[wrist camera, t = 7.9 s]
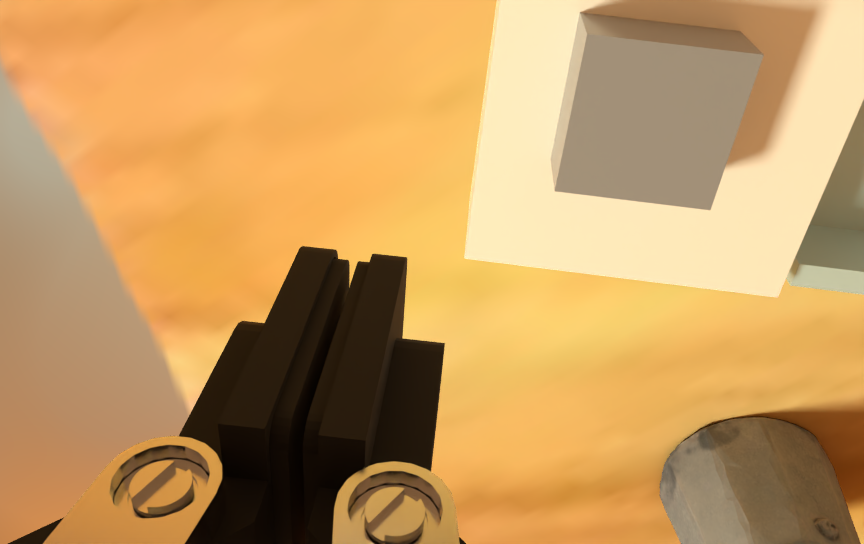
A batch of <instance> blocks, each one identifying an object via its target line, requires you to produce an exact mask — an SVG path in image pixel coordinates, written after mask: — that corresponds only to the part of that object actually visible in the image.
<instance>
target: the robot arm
mask: <svg viewBox="0 0 864 544" xmlns="http://www.w3.org/2000/svg"><path fill="white" fill-rule="evenodd" d="M406 274H407V257H398V256H389V255H380V254H372V257H371V260H370V262H360V261H359V262H358V263H357V266H356V269H355V272H354V275H353V278H352V281H351V285H350V288H349V261H348V260H342V259H338V254H337V251H336V250H333V249H323V248H314V247H305V246H302V247H301V248H300V249H299V251H298V253H297V255H296V257H295V260H294V262H293V264H292V266H291V268H290V270H289V272H288V275H287V277H286V279H285V281H284V283H283V285H282V287H281V289H280V292H279V294H278V296H277V298H276V300H275V302H274V304H273V307H272V309H271V311H270V313H269V315H268V317H267V319H266V322H265V323H257V322H248V321H242V322H240V323H238V325H237V326H236V328H235V329H234V331H233V333H232V335H231V337H230V339H229V341H228V343H227V345H226V346H225V348H224V350H223V352H222V354H221V356H220V358H219V360H218V362H217V364H216V366H215V368H214V369H213V371H212V373H211V375H210V377H209V379H208V381H207V383H206V385H205V387H204V389H203V391H202V393H201V394H200V396H199V398H198V400H197V402H196V404H195V406H194V408H193V410H192V412H191V414H190V416H189V417H188V420H187V421H186V423H185V425H184V427H183V429H182V431H181V433H180V435H179V436H168V437H159V438H153V439H150V440H147V441H144V442H141V443H138V444H136V445H134V446H132V447H130V448H129V449H127V450H125V451H123V452H122V453H120V454H119V455H118V456H117V457H116V458H115V459H114V460H112V462H110V463H109V464H108V465H107V466H106V467H105V468H104V470H103V471H102V472H101V473H100V475H99V476H98V477H97V478H96V479H95V481H94V482H93V483H92V484H91V486H90V487H89V488H88V489H87V490H86V492H85V493H84V494H83V495H82V496H81V498H80V499H79V500H78V501H77V503H76V504H75V505H74V506H73V508H72V509H71V510H70V511H69V512H68V513H67V515H66V516H65V517H64V518H62V519H60V520H57V521H55V522H54V523H51V524H49V525H47V526H45V527H42V528H40V529H38V530H36V531H34V532H32V533H30V534H28V535H25V536H23V537H21V538H19V539H17V540H15V541H13V542H11V543H8V544H466V543H465V542H464V541H463V540H462V539H461V538H460V537H459V533H458V524H457V516H456V507H455V504H454V500H453V497H452V494H451V492H450V490H449V489H448V488H447V486H446V485H445V484H444V482H443V481H442V480H441V479H440V478H439V477H437V476H436V475H435V474H433V473H432V472H431V466H432V457H433V448H434V439H435V430H436V421H437V412H438V403H439V393H440V384H441V374H442V365H443V355H444V346H445V343H437V342H428V341H419V340H410V339H402V335H403V320H404V304H405V289H406Z"/></svg>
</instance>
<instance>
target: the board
mask: <svg viewBox="0 0 864 544" xmlns="http://www.w3.org/2000/svg"><path fill="white" fill-rule="evenodd" d="M580 12H582V13H590V14H599V15H607V16H616V17H625V18H633V19H642V20H650V21H659V22H667V23H676V24H684V25H693V26H701V27H710V28H718V29H727V30H735V31H741V32H742V33H743V34H744V35H745V36H746V37H747V38H748V39H749V40H750V41H751V42H752V43H753V44H754V45H755V46H756V47H757V48H758V49H759V50H760V51H761V52H762V53H763V54H764V56H763V59H762V62H761V65H760V68H759V71H758V73H757V76H756V79H755V82H754V85H753V88H752V91H751V94H750V97H749V100H748V103H747V105H746V108H745V111H744V114H743V117H742V120H741V123H740V126H739V129H738V132H737V135H736V137H735V140H734V143H733V146H732V149H731V152H730V155H729V158H728V161H727V164H726V167H725V169H724V172H723V175H722V178H721V181H720V184H719V187H718V190H717V193H716V196H715V199H714V201H713V204H712V207H711V210H703V209H695V208H687V207H679V206H671V205H662V204H654V203H646V202H638V201H630V200H621V199H613V198H605V197H597V196H589V195H581V194H572V193H564V192H556V191H554V183H553V174H552V166H551V155H552V150H553V144H554V139H555V134H556V129H557V124H558V119H559V114H560V109H561V104H562V99H563V94H564V89H565V84H566V79H567V74H568V69H569V64H570V59H571V54H572V49H573V44H574V39H575V34H576V29H577V24H578V19H579V13H580ZM863 100H864V0H497V4H496V11H495V18H494V26H493V33H492V40H491V48H490V55H489V62H488V70H487V77H486V84H485V91H484V99H483V106H482V113H481V121H480V128H479V135H478V143H477V150H476V157H475V165H474V172H473V179H472V187H471V194H470V202H469V214H468V225H467V236H466V247H465V258H464V259H472V260H480V261H488V262H496V263H504V264H512V265H520V266H528V267H536V268H544V269H552V270H560V271H568V272H577V273H585V274H593V275H601V276H609V277H617V278H625V279H633V280H641V281H649V282H657V283H665V284H673V285H681V286H689V287H697V288H705V289H713V290H721V291H729V292H737V293H745V294H753V295H761V296H769V297H778V296H779V293H780V291H781V289H782V286H783V284H784V282H785V280H786V277H787V275H788V273H789V270H790V268H791V266H792V263H793V261H794V259H795V256H796V254H797V252H798V250H799V247H800V245H801V243H802V240H803V238H804V236H805V233H806V231H807V229H808V226H809V224H810V222H811V220H812V217H813V215H814V213H815V210H816V208H817V206H818V203H819V201H820V199H821V197H822V194H823V192H824V190H825V187H826V185H827V183H828V180H829V178H830V176H831V173H832V171H833V169H834V167H835V164H836V162H837V160H838V157H839V155H840V153H841V150H842V148H843V146H844V143H845V141H846V139H847V137H848V134H849V132H850V130H851V127H852V125H853V123H854V120H855V118H856V116H857V113H858V111H859V109H860V107H861V104H862V102H863Z"/></svg>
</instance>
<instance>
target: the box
mask: <svg viewBox="0 0 864 544" xmlns="http://www.w3.org/2000/svg"><path fill="white" fill-rule="evenodd" d="M786 279H787V281H788V282H789V284H790V285H791V286H799V287H807V288H815V289H823V290H831V291H839V292H847V293H855V294H863V295H864V100H863V102H862V104H861V107H860V109H859V111H858V113H857V116H856V118H855V120H854V123H853V125H852V127H851V130H850V132H849V134H848V137H847V139H846V141H845V143H844V146H843V148H842V150H841V153H840V155H839V157H838V160H837V162H836V164H835V167H834V169H833V171H832V173H831V176H830V178H829V180H828V183H827V185H826V187H825V190H824V192H823V194H822V197H821V199H820V201H819V203H818V206H817V208H816V210H815V213H814V215H813V217H812V220H811V222H810V224H809V226H808V229H807V231H806V233H805V236H804V238H803V240H802V243H801V245H800V247H799V250H798V252H797V254H796V256H795V259H794V261H793V263H792V266H791V268H790V270H789V273H788V275H787V277H786Z"/></svg>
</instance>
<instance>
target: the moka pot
mask: <svg viewBox="0 0 864 544" xmlns="http://www.w3.org/2000/svg"><path fill="white" fill-rule="evenodd" d="M660 498H661V500H662V503H663V505H664V508H665V511H666V513H667V515H668V517H669V519H670V521H671V523H672V525H673V527H674V529H675V531H676V534H677V536H678V538H679V540H680V542H681V544H861V543H860V541H859V538H858V535H857V532H856V530H855V527H854V524H853V521H852V519H851V516H850V513H849V510H848V507H847V504H846V502H845V499H844V496H843V493H842V490H841V488H840V485H839V482H838V480H837V477H836V474H835V470H834V468H833V466H832V464H831V462H830V460H829V458H828V457H827V455H826V453H825V451H824V450H823V448H822V447H821V445H820V443H819V442H818V440H817V438H816V437H815V436H814V435H813V434H812V433H810V432H809V431H807V430H805V429H803V428H801V427H799V426H797V425H795V424H791V423H788V422H785V421H782V420H777V419H770V418H765V417H749V418H739V419H732V420H727V421H724V422H720V423H717V424H713V425H711V426H708V427H706V428H703V429H701V430H699V431H698V432H696V433H695V434H693V435H692V436H691V437H689V438H688V439H686V440H685V441H683V442H682V443H681V444H679V445H678V446H677V448H676V449H675V450H674V451H673V452H672V453H671V454H670V456H669V458H668V459H667V461H666V462H665V465H664V469H663V472H662V479H661V483H660Z"/></svg>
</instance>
